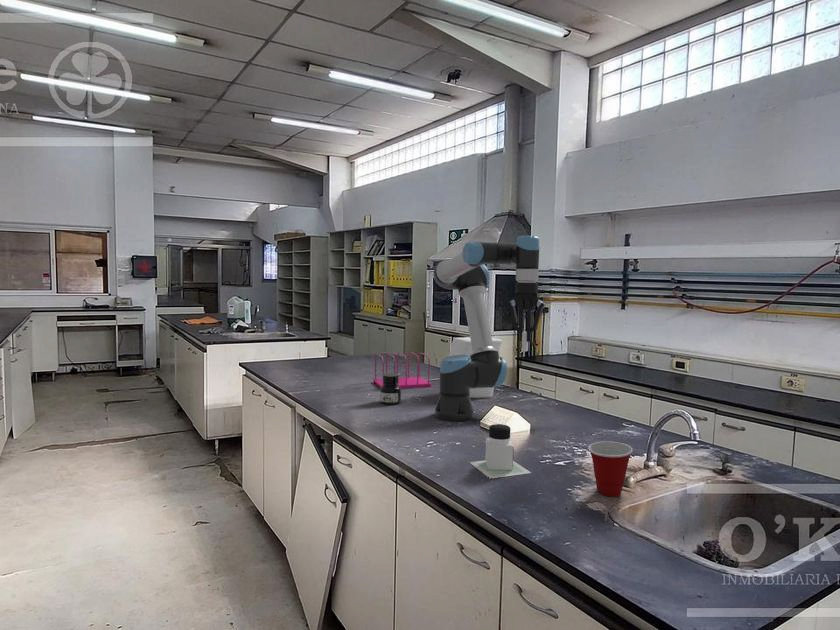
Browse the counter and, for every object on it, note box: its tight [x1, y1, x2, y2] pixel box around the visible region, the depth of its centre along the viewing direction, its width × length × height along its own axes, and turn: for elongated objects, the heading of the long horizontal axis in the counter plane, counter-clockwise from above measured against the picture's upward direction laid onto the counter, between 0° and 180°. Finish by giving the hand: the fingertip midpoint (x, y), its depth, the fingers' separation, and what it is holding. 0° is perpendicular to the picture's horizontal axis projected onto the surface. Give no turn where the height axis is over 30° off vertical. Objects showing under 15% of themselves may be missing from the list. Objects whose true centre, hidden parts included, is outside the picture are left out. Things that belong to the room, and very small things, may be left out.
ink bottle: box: [379, 373, 402, 405], centre depth 228 cm, size 10×9×12 cm
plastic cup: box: [587, 441, 634, 497], centre depth 137 cm, size 11×11×12 cm
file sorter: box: [373, 351, 432, 389], centre depth 265 cm, size 17×25×16 cm
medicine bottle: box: [485, 423, 514, 470], centre depth 154 cm, size 7×7×12 cm
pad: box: [469, 459, 532, 480], centre depth 154 cm, size 13×13×1 cm
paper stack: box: [448, 336, 503, 399], centre depth 246 cm, size 21×27×26 cm
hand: (524, 350), depth 183 cm, fingers closed
